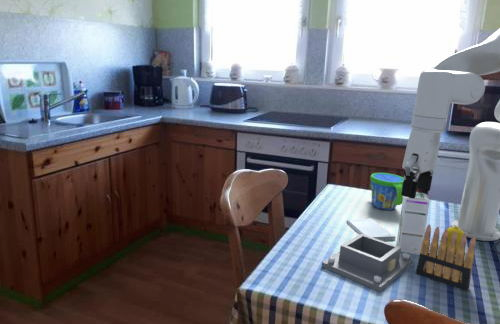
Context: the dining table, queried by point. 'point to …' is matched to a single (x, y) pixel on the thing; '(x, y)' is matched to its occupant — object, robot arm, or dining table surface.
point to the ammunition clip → (446, 259)
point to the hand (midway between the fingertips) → (415, 193)
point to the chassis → (369, 262)
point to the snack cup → (386, 190)
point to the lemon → (450, 233)
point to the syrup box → (413, 223)
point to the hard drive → (370, 229)
